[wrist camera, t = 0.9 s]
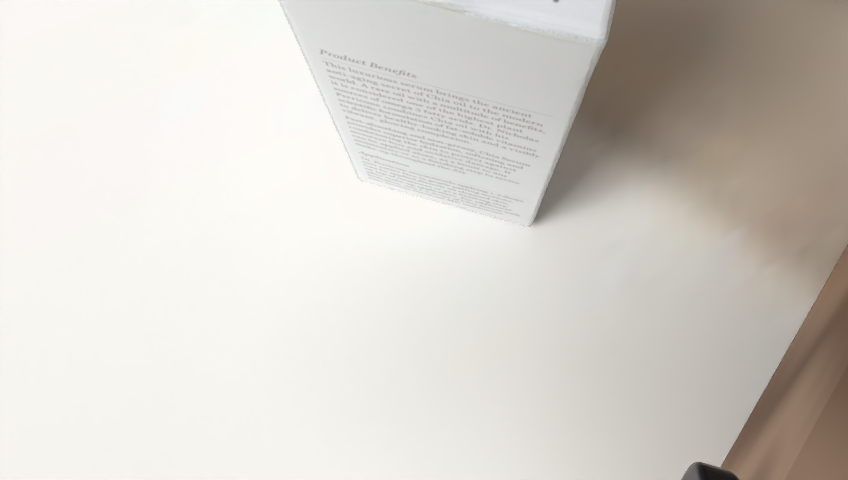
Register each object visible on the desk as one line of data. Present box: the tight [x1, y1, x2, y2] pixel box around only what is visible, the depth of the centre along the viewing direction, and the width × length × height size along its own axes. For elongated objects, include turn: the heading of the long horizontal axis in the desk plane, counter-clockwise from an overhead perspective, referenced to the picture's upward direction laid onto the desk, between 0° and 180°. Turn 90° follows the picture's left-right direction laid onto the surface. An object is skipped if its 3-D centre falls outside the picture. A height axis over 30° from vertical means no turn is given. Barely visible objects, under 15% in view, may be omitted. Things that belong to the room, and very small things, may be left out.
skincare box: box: [278, 0, 617, 227], centre depth 17 cm, size 6×4×12 cm
